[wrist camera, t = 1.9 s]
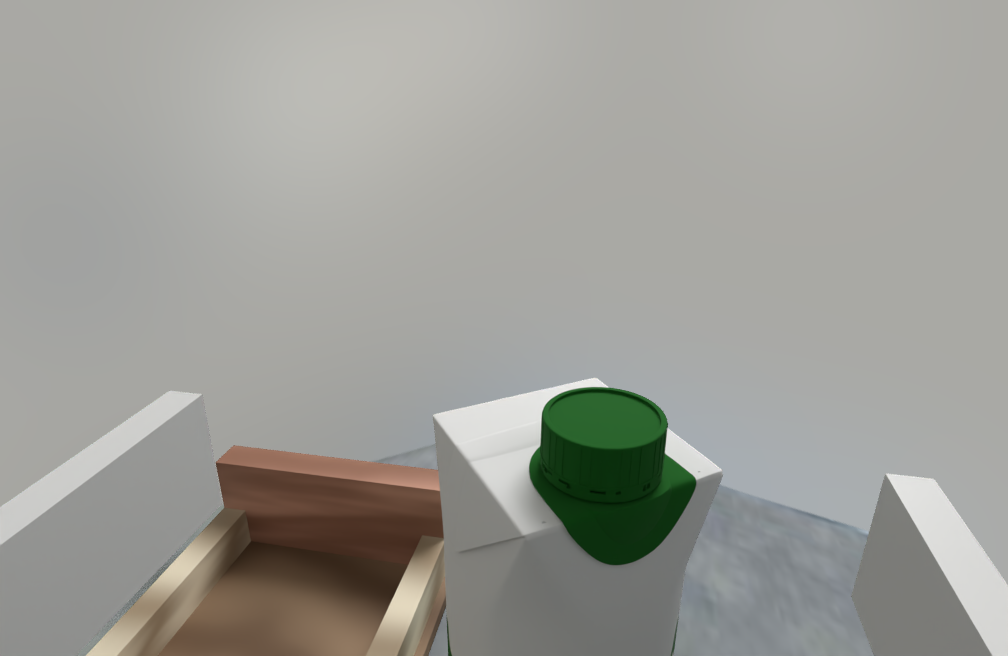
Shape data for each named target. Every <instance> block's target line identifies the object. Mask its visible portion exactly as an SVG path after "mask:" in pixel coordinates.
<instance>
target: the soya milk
mask: <svg viewBox="0 0 1008 656" xmlns="http://www.w3.org/2000/svg"><path fill="white" fill-rule="evenodd" d="M433 421H434V430H435V441H436V452H437V463H438V474H439V485H440V497H441V508H442V520H443V533H444V562H445V587H446V611H447V634H448V656H673V654H674V646H675V639H676V632H677V625H678V618H679V611H680V604H681V597H682V590H683V582H684V576H685V569H686V565H687V563H688V560H689V557H690V555H691V552H692V550H693V548H694V545H695V543H696V540H697V538H698V535H699V533H700V530H701V528H702V526H703V523H704V521H705V518H706V516H707V513H708V511H709V509H710V506H711V504H712V501H713V499H714V496H715V494H716V492H717V489H718V487H719V484H720V482H721V479H722V477H723V474H722V470H721V469H720V468H719V467H718V466H716V465H715V464H714V463H713V462H711V461H710V460H709V459H707V458H706V457H705V456H703V455H702V454H701V453H699V452H698V451H697V450H695V449H694V448H693V447H692V446H690V445H689V444H688V443H686V442H685V441H683V440H682V439H681V438H680V437H678V436H677V435H676V434H674V433H673V432H672V431H670V430H669V429H668V428H667V427H668V423H667V418H666V416H665V414H664V413H663V411H662V410H661V409H660V408H659V407H658V406H657V405H656V404H655V403H653V402H652V401H650V400H649V399H647V398H645V397H643V396H640V395H638V394H635V393H632V392H629V391H625V390H620V389H614V388H609V387H608V386H606V385H605V384H604V383H602V382H601V381H600V380H598V379H597V378H592V379H587V380H583V381H578V382H574V383H569V384H565V385H561V386H556V387H552V388H548V389H543V390H539V391H534V392H530V393H525V394H522V395H517V396H512V397H508V398H504V399H499V400H495V401H491V402H486V403H482V404H477V405H473V406H469V407H464V408H460V409H455V410H451V411H447V412H442V413H438V414H434V415H433Z"/></svg>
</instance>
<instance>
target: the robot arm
mask: <svg viewBox="0 0 1008 656" xmlns="http://www.w3.org/2000/svg"><path fill="white" fill-rule="evenodd" d="M221 504H222V500H221V494H220V489H219V483H218V479H217V473H216V467H215V461H214V456H213V450H212V445H211V439H210V434H209V428H208V423H207V417H206V412H205V406H204V401H203V395H202V394H194V393H186V392H177V391H168V392H167V393H166V394H164V395H163V396H161V397H160V398H158V399H157V400H155V401H154V402H152V403H151V404H149V405H148V406H147V407H145V408H144V409H143V410H141V411H139V412H138V413H136V414H135V415H134V416H132V417H131V418H129V419H128V420H126V421H125V422H123V423H122V424H120V425H119V426H117V427H116V428H115V429H113V430H112V431H110V432H109V433H107V434H106V435H104V436H103V437H101V438H100V439H99V440H97V441H96V442H95V443H93V444H92V445H90V446H88V447H87V448H86V449H84V450H83V451H81V452H80V453H78V454H77V455H76V456H74V457H72V458H71V459H69V460H68V461H67V462H65V463H64V464H62V465H61V466H59V467H58V468H56V469H55V470H54V471H52V472H51V473H49V474H48V475H46V476H45V477H43V478H42V479H41V480H39V481H38V482H36V483H35V484H33V485H32V486H30V487H29V488H27V489H26V490H24V491H23V492H21V493H20V494H19V495H17V496H16V497H14V498H13V499H11V500H10V501H9V502H7V503H5V504H4V505H3V506H1V507H0V656H76V655H77V654H78V653H79V652H80V651H81V650H82V649H83V648H84V647H85V646H86V645H87V644H88V643H89V642H90V640H91V639H92V638H93V637H94V636H95V635H96V634H97V633H98V632H99V631H100V630H101V629H102V628H103V627H104V626H105V625H106V624H107V623H108V622H109V621H110V620H111V619H112V618H113V617H114V616H115V615H116V613H117V612H118V611H119V610H120V609H121V608H122V607H123V606H124V605H125V604H126V603H127V602H128V601H129V600H130V599H131V598H132V597H133V596H134V595H135V594H136V593H137V592H138V591H139V590H140V589H141V587H142V586H143V585H144V584H145V583H146V582H147V581H148V580H149V579H150V578H151V577H152V576H153V575H154V574H155V573H156V572H157V571H158V570H159V569H160V568H161V567H162V566H163V565H164V564H165V563H166V561H167V560H168V559H169V558H170V557H171V556H172V555H173V554H174V553H175V552H176V551H177V550H178V549H179V548H180V547H181V546H182V545H183V544H184V543H185V542H186V541H187V540H188V539H189V538H190V537H191V535H192V534H193V533H194V532H195V531H196V530H197V529H198V528H199V527H200V526H201V525H202V524H203V523H204V522H205V521H206V520H207V519H208V518H209V517H210V516H211V515H212V514H213V513H214V512H215V511H216V509H217V508H218V507H219V506H220V505H221ZM851 597H852V600H853V602H854V605H855V607H856V610H857V613H858V615H859V618H860V620H861V623H862V625H863V628H864V631H865V633H866V636H867V638H868V641H869V644H870V646H871V649H872V651H873V654H874V656H1008V585H1007V583H1006V582H1005V580H1004V579H1003V577H1002V576H1001V575H1000V574H999V572H998V570H997V569H996V567H995V566H994V565H993V563H992V562H991V560H990V559H989V557H988V556H987V554H986V553H985V552H984V550H983V549H982V547H981V546H980V544H979V543H978V542H977V540H976V539H975V537H974V536H973V534H972V533H971V531H970V530H969V528H968V527H967V526H966V524H965V523H964V521H963V520H962V518H961V517H960V516H959V514H958V513H957V511H956V510H955V508H954V507H953V505H952V504H951V503H950V501H949V500H948V498H947V497H946V495H945V494H944V493H943V491H942V490H941V488H940V487H939V485H938V484H937V483H936V481H935V480H934V479H929V478H920V477H912V476H903V475H894V474H885V477H884V480H883V484H882V488H881V491H880V495H879V498H878V502H877V506H876V509H875V513H874V516H873V520H872V524H871V527H870V531H869V534H868V538H867V542H866V545H865V549H864V552H863V556H862V560H861V563H860V567H859V570H858V574H857V578H856V581H855V585H854V589H853V592H852V596H851Z"/></svg>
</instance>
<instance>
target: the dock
mask: <svg viewBox="0 0 1008 656" xmlns="http://www.w3.org/2000/svg"><path fill="white" fill-rule="evenodd" d="M216 467H217V472H218V477H219V482H220V486H221V492H222V497H223V502H224V507H225V508H224V509H223V510H222V511H221V512H220V513H219V514H218V515H217V516H216V517H215V518H214V519H213V520H212V522H211V523H210V524H209V525H208V526H207V527H206V528H205V529H204V530H203V531H202V532H201V533H200V534H199V535H198V536H197V538H196V539H195V540H194V541H193V542H192V543H191V544H190V545H189V546H188V547H187V548H186V549H185V550H184V551H183V552H182V554H181V555H180V556H179V557H178V558H177V559H176V560H175V561H174V562H173V563H172V564H171V565H170V566H169V567H168V568H167V570H166V571H165V572H164V573H163V574H162V575H161V576H160V577H159V578H158V579H157V580H156V581H155V582H154V583H153V584H152V586H151V587H150V588H149V589H148V590H147V591H146V592H145V593H144V594H143V595H142V596H141V597H140V598H139V599H138V601H137V602H136V603H135V604H134V605H133V606H132V607H131V608H130V609H129V610H128V611H127V612H126V613H125V614H124V615H123V617H122V618H121V619H120V620H119V621H118V622H117V623H116V624H115V625H114V626H113V627H112V628H111V629H110V630H109V631H108V633H107V634H106V635H105V636H104V637H103V638H102V639H101V640H100V641H99V642H98V643H97V644H96V645H95V646H94V647H93V649H92V650H91V651H90V652H89V653H88V654H87V655H86V656H428V654H429V652H430V649H431V646H432V643H433V641H434V638H435V635H436V632H437V630H438V627H439V624H440V621H441V619H442V616H443V613H444V610H445V608H446V587H445V562H444V533H443V520H442V508H441V497H440V485H439V474H438V470H433V469H425V468H416V467H408V466H400V465H392V464H383V463H375V462H367V461H359V460H350V459H342V458H334V457H324V456H317V455H309V454H301V453H292V452H283V451H276V450H267V449H259V448H251V447H243V446H233V447H231V449H229V450H228V451H227V452H226V453H225V454H224V455H223V456H222V457H221V458H220V459H219V460H218V461H217V462H216Z"/></svg>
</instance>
